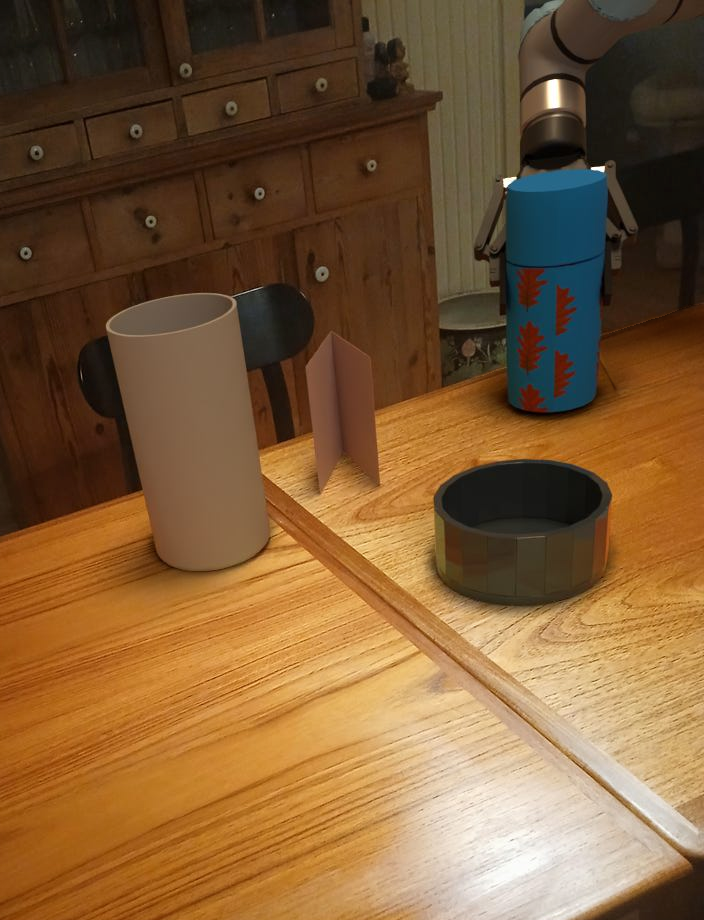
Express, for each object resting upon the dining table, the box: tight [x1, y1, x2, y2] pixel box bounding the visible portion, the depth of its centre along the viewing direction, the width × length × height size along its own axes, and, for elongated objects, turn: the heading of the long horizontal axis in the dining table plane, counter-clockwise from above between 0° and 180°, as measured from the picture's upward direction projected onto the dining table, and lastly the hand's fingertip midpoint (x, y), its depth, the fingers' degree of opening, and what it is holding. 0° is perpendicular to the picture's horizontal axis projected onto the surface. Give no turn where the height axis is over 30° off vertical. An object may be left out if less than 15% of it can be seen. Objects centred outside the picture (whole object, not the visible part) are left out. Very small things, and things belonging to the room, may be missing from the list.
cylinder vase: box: [105, 292, 271, 572], centre depth 100 cm, size 12×12×25 cm
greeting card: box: [305, 330, 381, 495], centre depth 112 cm, size 11×7×15 cm, turn 161°
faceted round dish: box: [432, 458, 613, 607], centre depth 92 cm, size 16×16×7 cm
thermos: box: [505, 169, 608, 413], centre depth 116 cm, size 11×11×25 cm
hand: (554, 305), depth 114 cm, fingers closed on thermos, 11 cm apart
